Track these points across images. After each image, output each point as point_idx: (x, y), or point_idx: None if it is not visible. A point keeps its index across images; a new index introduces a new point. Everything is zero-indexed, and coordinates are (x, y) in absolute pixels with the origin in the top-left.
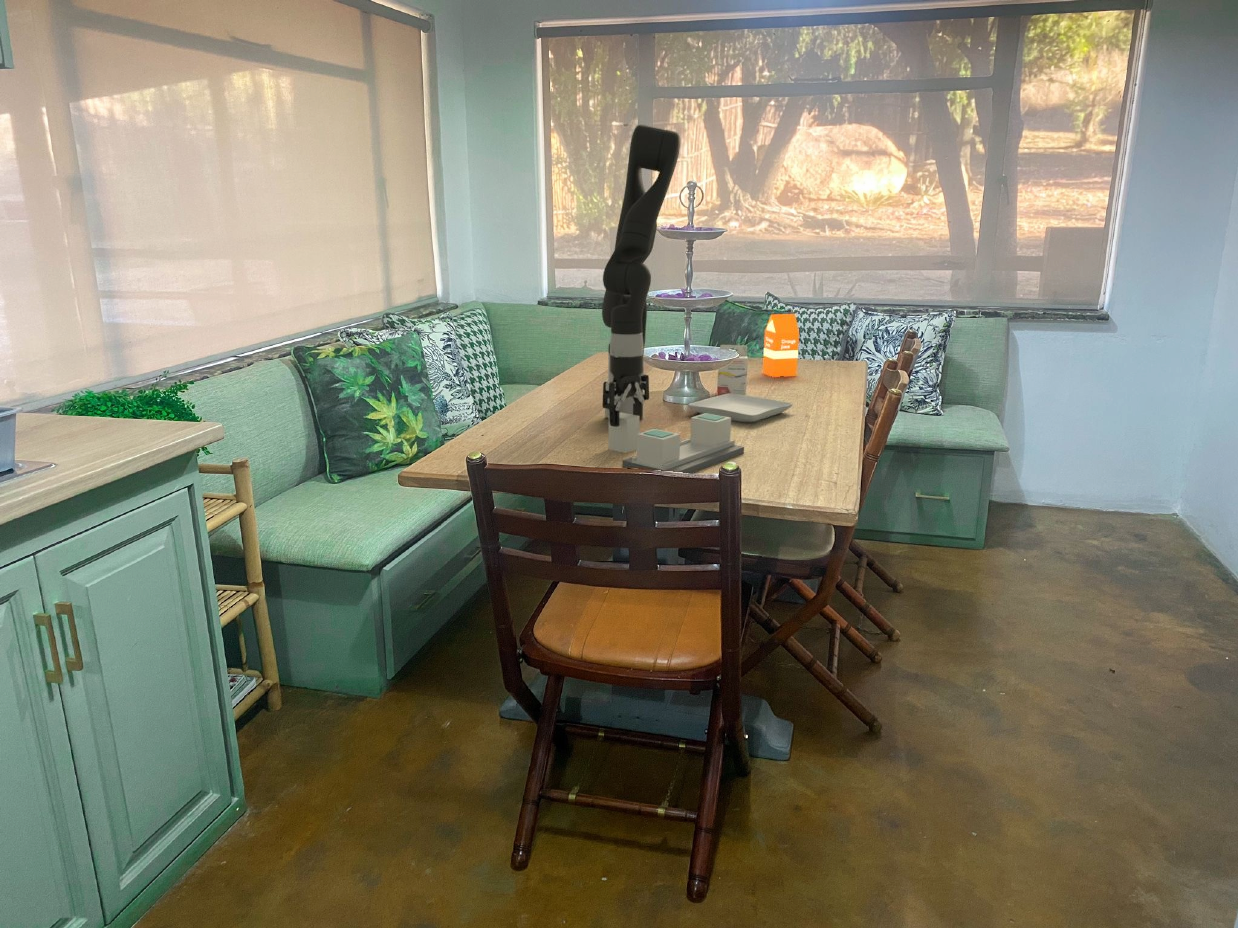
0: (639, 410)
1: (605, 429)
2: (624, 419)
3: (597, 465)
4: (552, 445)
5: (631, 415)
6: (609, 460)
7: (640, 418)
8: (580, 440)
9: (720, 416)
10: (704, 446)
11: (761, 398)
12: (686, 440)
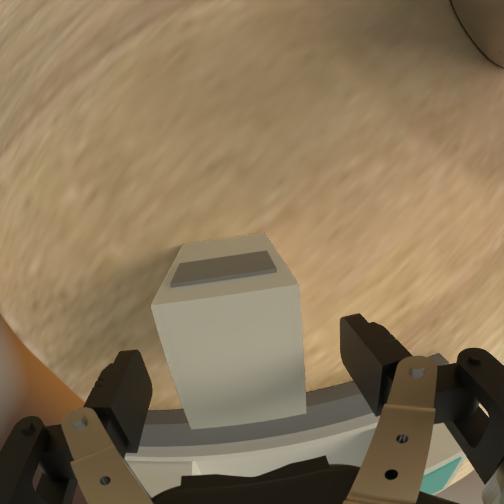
0: (360, 387)
1: (381, 24)
2: (185, 414)
3: (52, 359)
4: (62, 68)
5: (282, 385)
6: (102, 351)
7: (344, 364)
8: (187, 61)
9: (442, 485)
10: (364, 454)
11: None
12: (367, 429)
